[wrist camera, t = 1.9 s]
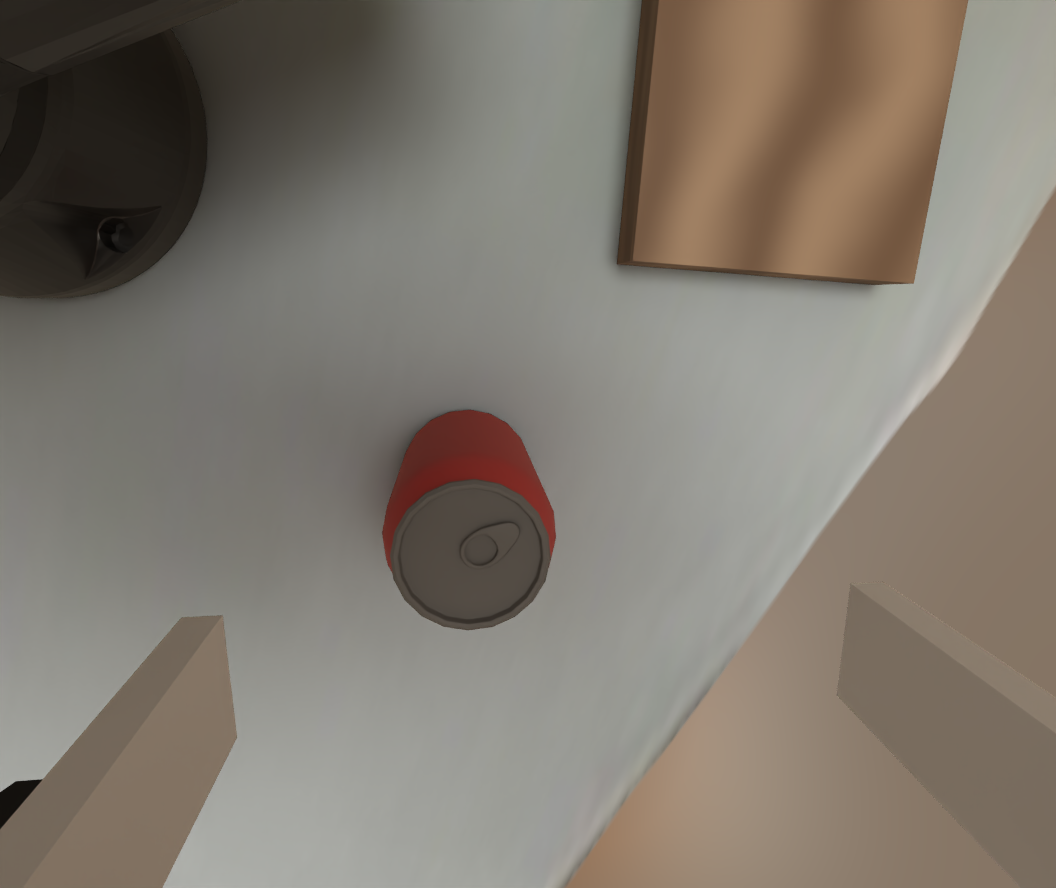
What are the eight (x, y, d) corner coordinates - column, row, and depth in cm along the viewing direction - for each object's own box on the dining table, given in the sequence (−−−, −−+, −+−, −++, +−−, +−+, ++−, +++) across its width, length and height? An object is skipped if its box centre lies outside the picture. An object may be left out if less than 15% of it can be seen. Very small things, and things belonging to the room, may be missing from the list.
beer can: (552, 485, 34) (600, 579, 23) (449, 550, 35) (445, 677, 23) (485, 383, 33) (499, 428, 21) (378, 452, 33) (334, 535, 21)
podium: (617, 264, 32) (632, 260, 29) (647, -53, 29) (668, -92, 26) (874, 284, 34) (913, 283, 31) (927, -13, 31) (977, -46, 28)
